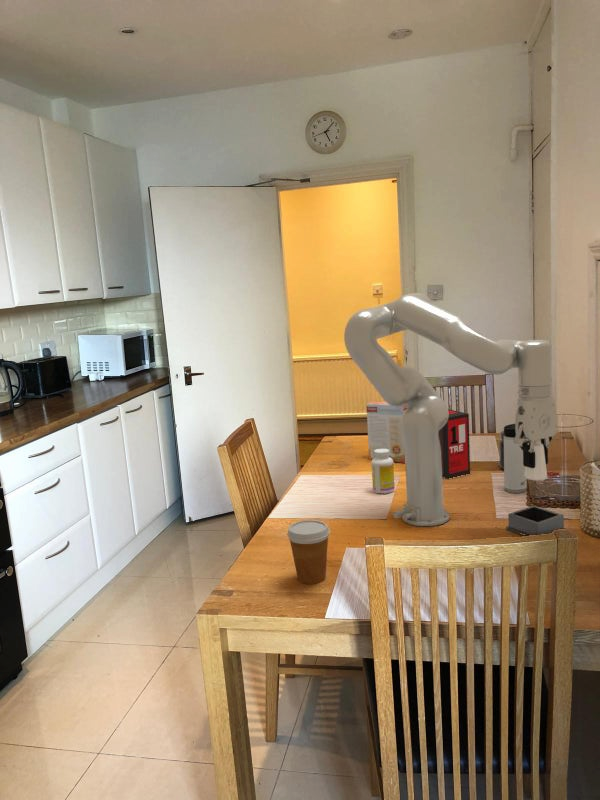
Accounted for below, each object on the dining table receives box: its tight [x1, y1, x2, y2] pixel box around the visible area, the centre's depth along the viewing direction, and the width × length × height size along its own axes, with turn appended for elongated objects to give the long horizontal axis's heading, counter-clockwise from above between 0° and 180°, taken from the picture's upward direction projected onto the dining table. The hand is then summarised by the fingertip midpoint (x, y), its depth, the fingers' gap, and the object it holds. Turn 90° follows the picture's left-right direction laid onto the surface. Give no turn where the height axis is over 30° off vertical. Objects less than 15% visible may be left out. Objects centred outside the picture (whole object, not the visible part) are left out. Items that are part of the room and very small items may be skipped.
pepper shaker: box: [524, 439, 548, 481], centre depth 163 cm, size 5×5×11 cm
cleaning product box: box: [439, 408, 471, 480], centre depth 218 cm, size 16×9×20 cm, turn 26°
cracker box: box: [365, 400, 407, 464], centre depth 236 cm, size 14×6×21 cm, turn 58°
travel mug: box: [503, 423, 528, 494], centre depth 195 cm, size 6×7×20 cm
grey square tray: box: [505, 505, 567, 537], centre depth 166 cm, size 10×10×4 cm
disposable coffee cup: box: [286, 519, 331, 585], centre depth 148 cm, size 10×10×12 cm
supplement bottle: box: [371, 449, 396, 495], centre depth 203 cm, size 7×7×13 cm
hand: (535, 464), depth 163 cm, fingers closed on pepper shaker, 3 cm apart
